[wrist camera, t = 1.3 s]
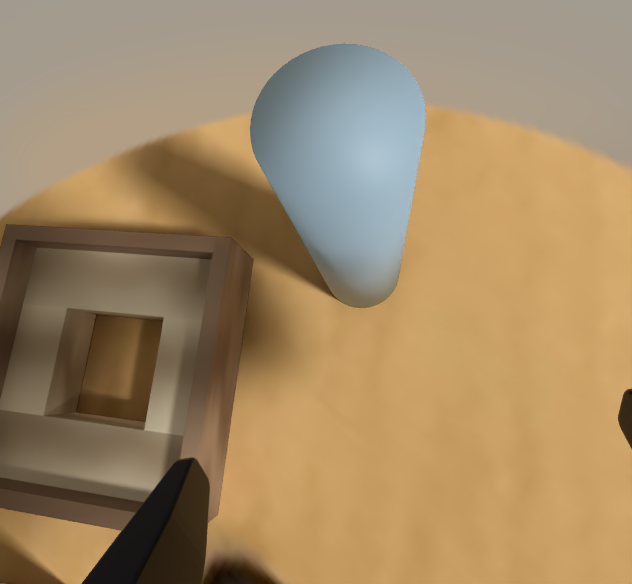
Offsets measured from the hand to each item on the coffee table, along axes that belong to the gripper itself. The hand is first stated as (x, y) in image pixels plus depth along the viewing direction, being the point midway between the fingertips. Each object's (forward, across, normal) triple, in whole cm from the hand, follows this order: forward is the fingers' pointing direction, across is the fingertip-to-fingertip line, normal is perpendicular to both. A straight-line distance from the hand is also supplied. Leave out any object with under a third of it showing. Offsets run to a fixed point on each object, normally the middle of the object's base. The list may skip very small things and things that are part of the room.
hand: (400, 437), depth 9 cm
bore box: (+12, +14, +6) cm, 19 cm away
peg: (+14, 0, +4) cm, 15 cm away
